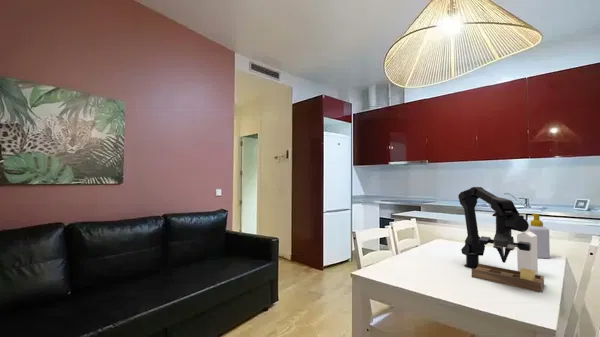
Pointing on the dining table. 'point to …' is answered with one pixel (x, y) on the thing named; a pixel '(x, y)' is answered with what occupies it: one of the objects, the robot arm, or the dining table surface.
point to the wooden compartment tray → (507, 277)
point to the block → (527, 274)
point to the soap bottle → (540, 237)
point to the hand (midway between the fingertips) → (504, 262)
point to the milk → (528, 252)
